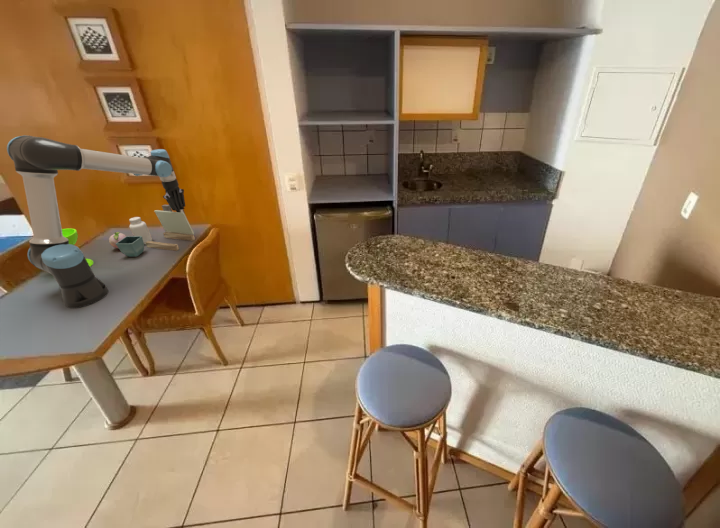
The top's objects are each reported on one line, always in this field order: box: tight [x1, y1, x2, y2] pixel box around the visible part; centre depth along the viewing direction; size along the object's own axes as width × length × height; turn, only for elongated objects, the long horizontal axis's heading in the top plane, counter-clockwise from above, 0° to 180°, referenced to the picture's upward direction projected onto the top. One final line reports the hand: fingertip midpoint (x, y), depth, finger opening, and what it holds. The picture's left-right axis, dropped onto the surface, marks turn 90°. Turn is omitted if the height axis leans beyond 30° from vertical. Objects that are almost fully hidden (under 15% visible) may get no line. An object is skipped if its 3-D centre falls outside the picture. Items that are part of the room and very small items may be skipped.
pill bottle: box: [128, 216, 154, 246], centre depth 175 cm, size 8×8×15 cm
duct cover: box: [153, 209, 195, 235], centre depth 177 cm, size 14×20×1 cm
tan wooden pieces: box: [145, 204, 196, 252], centre depth 175 cm, size 20×20×18 cm
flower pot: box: [116, 235, 145, 258], centre depth 164 cm, size 9×9×9 cm
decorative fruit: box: [108, 231, 127, 249], centre depth 170 cm, size 9×8×10 cm
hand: (183, 220), depth 178 cm, fingers closed
